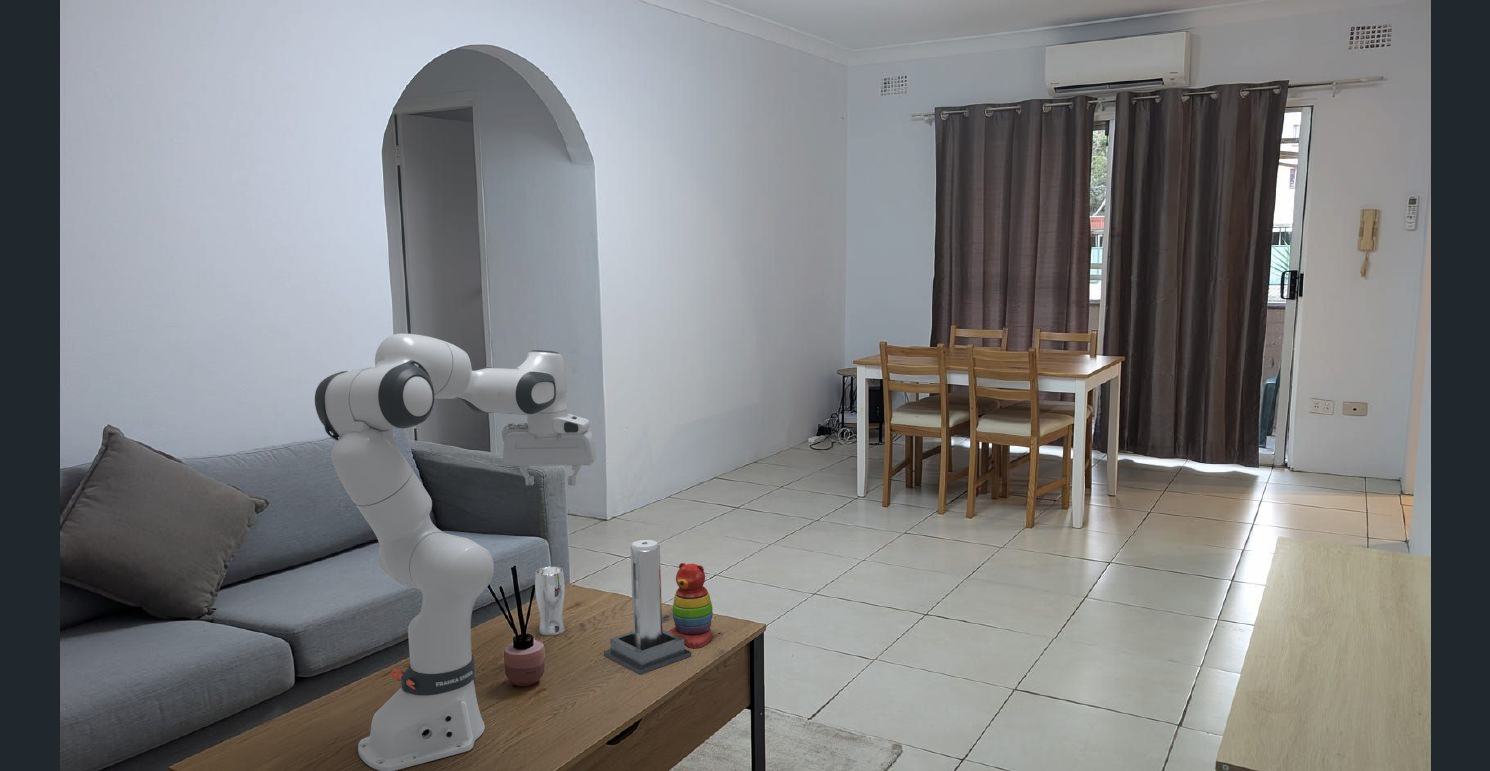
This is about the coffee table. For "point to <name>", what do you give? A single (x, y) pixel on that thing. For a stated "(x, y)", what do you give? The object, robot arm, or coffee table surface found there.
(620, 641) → the collar
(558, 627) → the beer glass
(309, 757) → the coffee table surface
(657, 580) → the grey cylinder
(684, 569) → the stacking bear
